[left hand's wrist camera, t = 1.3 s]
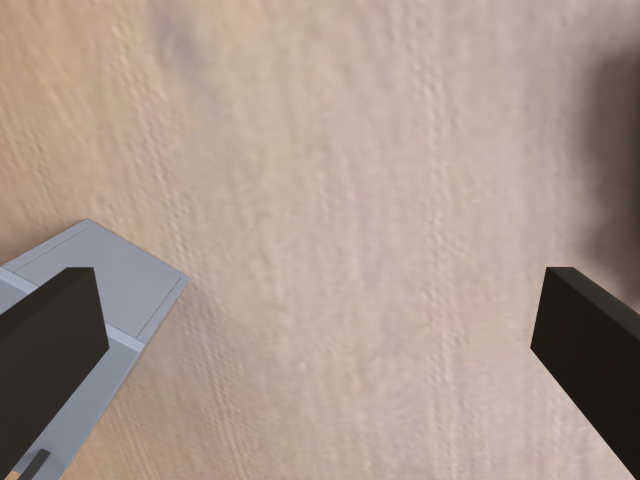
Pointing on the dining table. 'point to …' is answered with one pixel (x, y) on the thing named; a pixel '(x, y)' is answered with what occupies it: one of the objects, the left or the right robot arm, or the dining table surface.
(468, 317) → the dining table surface
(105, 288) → the chest
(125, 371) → the lid
